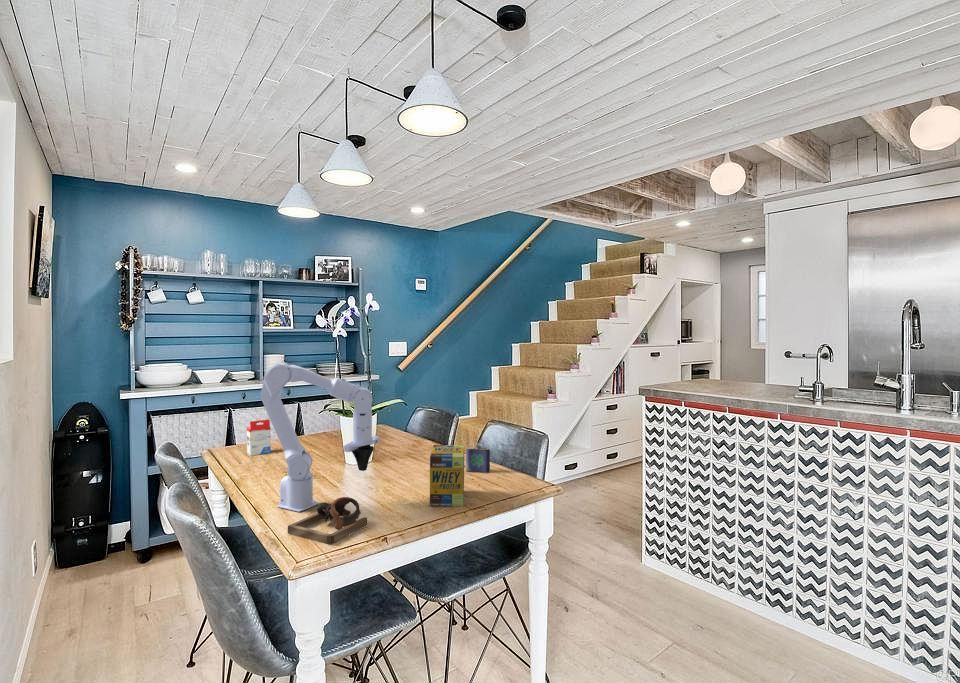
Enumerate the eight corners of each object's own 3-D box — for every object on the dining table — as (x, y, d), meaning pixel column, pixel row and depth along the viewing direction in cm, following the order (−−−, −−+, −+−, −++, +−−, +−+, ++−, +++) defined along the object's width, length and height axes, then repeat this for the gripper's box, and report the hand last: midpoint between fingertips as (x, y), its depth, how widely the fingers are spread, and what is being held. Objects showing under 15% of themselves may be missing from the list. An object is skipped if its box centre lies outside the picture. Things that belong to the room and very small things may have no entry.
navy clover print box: (465, 471, 188) (465, 443, 187) (466, 469, 191) (467, 442, 190) (489, 473, 186) (489, 445, 186) (490, 471, 189) (490, 443, 189)
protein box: (429, 507, 150) (429, 456, 150) (433, 490, 166) (433, 444, 165) (463, 507, 151) (464, 456, 150) (464, 490, 166) (464, 444, 166)
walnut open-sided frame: (287, 533, 131) (287, 525, 130) (326, 515, 143) (326, 508, 143) (330, 544, 124) (330, 536, 124) (367, 525, 136) (367, 517, 136)
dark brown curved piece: (359, 517, 144) (365, 496, 140) (352, 544, 135) (358, 523, 132) (317, 508, 142) (322, 487, 138) (308, 535, 133) (313, 514, 130)
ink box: (267, 450, 218) (267, 417, 218) (270, 453, 214) (270, 419, 214) (246, 453, 213) (246, 419, 212) (249, 456, 209) (249, 421, 209)
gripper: (356, 432, 146) (356, 478, 146) (387, 424, 159) (387, 466, 159) (338, 429, 149) (338, 474, 149) (369, 422, 162) (369, 463, 162)
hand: (362, 470), depth 155 cm, fingers closed
